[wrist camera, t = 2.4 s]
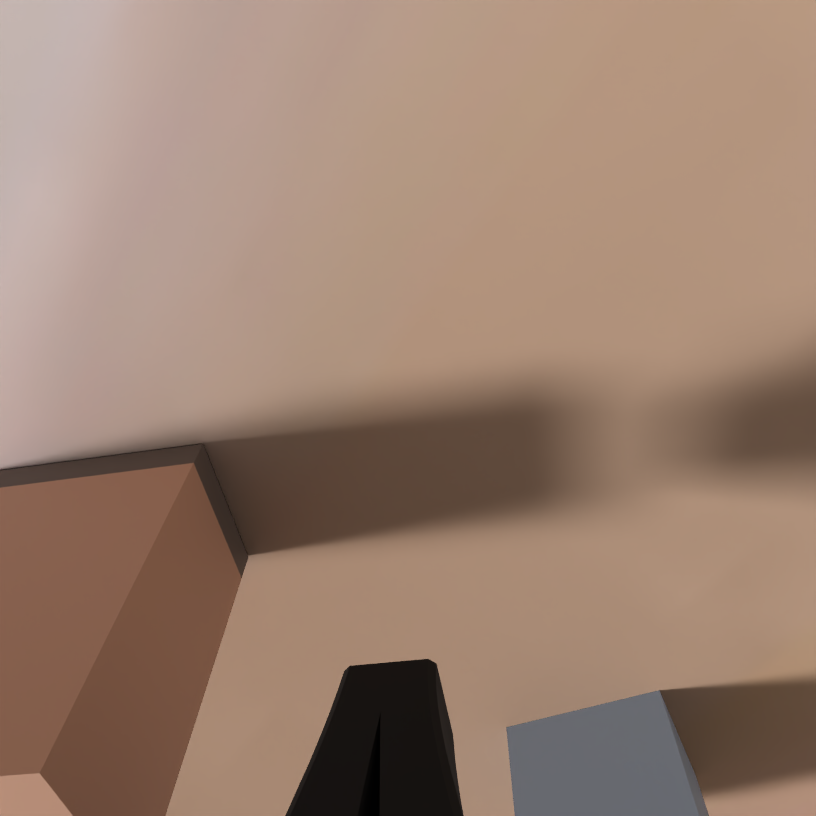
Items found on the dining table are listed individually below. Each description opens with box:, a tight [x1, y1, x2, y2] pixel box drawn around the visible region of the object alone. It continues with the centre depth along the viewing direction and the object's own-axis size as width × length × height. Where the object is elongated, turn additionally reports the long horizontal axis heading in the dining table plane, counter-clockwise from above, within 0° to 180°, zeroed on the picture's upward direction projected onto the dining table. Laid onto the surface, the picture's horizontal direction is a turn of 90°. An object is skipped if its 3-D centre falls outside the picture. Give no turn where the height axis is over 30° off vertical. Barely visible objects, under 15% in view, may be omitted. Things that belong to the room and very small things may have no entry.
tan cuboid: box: [0, 444, 248, 816], centre depth 13 cm, size 3×5×7 cm, turn 100°
